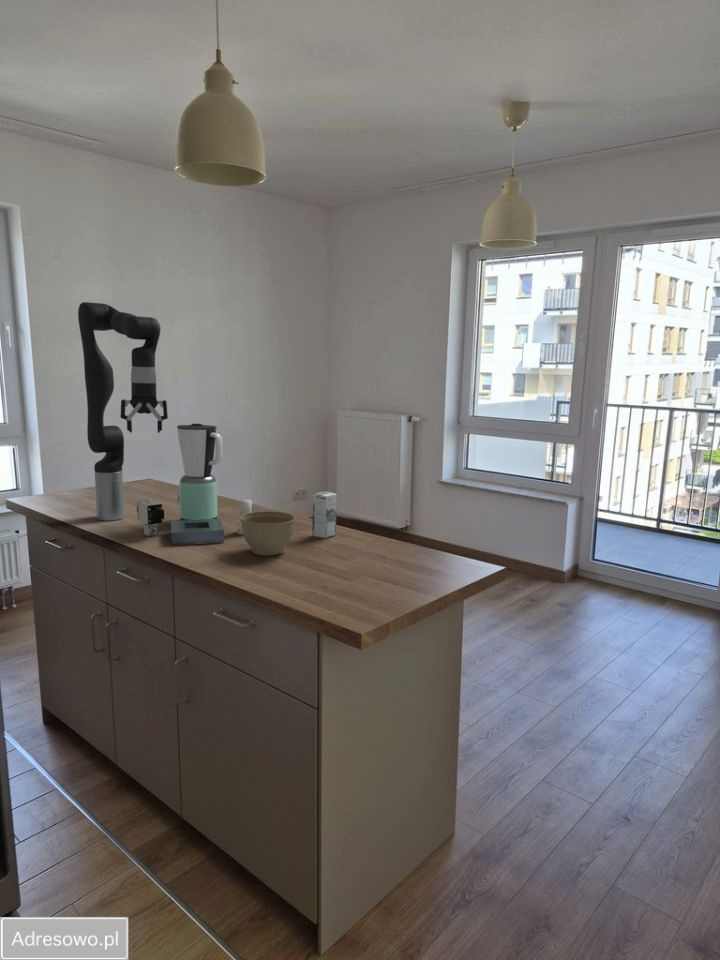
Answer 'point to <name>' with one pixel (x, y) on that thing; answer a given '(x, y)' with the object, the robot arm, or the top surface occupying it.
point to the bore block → (197, 531)
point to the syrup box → (324, 514)
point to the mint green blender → (198, 471)
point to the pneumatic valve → (150, 515)
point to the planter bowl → (267, 531)
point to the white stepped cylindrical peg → (243, 509)
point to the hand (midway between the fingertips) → (144, 432)
